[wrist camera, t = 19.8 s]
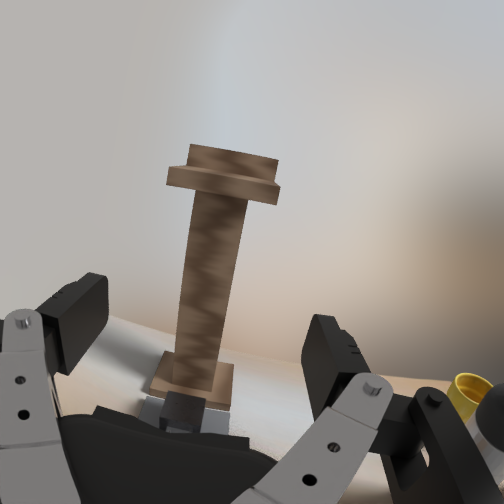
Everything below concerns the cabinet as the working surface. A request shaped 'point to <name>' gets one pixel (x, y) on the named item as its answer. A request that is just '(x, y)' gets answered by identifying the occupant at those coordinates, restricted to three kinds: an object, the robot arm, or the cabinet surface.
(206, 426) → the rubber mat
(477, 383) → the plant pot
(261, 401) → the cabinet surface
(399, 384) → the cabinet surface
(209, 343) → the walnut stand
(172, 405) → the grey block hammer
